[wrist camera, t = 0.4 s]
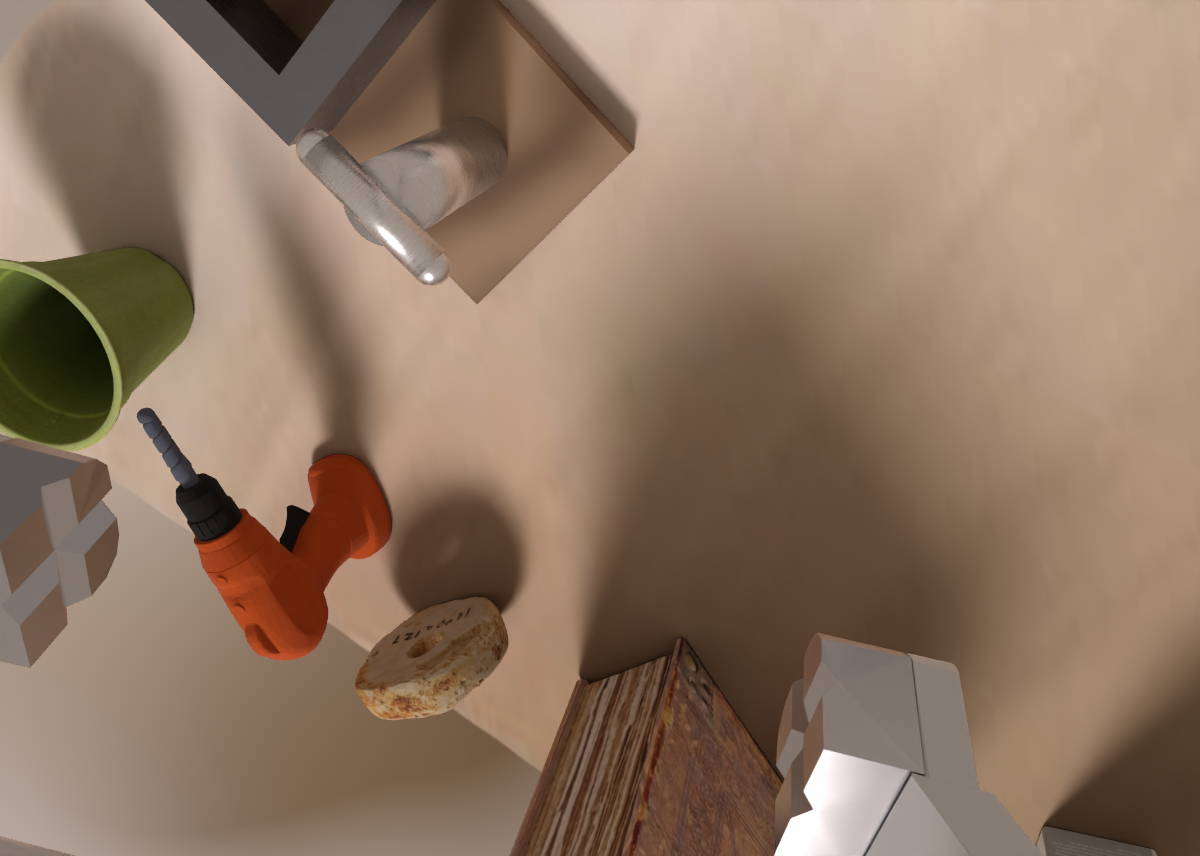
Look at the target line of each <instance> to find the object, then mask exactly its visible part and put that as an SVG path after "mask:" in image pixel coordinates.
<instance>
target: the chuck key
mask: <svg viewBox="0 0 1200 856" xmlns="http://www.w3.org/2000/svg"><path fill="white" fill-rule="evenodd" d="M296 153H297V156H298V158H299V160H300V161H301V162H302V164H303V165H304V166H305V167H306V168H307V169H308V170H309V171H310V172H311V173H312V174H313V175H314V176H315V177H316V178H317V179H318V180H319V181H320V182H321V183H322V184H323V185H324V186H325V187H326V188H327V189H328V190H329V191H330V192H331V193H332V194H333V195H334V196H335V197H336V198H337V199H338V200H339V201H340V202H341V203H342V204H343V205H344V209H345V212H346V215H347V217H348V219H349V221H350V223H351V224H352V226H353V227H354V228H355V229H356V231H357V232H358V233H359V234H360V235H361V236H363V237H364V238H365V239H367V240H368V241H370V242H372V243H375V244H377V245H380V246H384V247H385V248H386V249H387V250H388V251H389V252H390V253H391V254H392V255H393V256H394V257H395V258H396V259H397V260H398V261H399V262H400V263H401V264H402V265H403V266H404V267H405V268H406V269H407V270H408V271H409V272H410V273H411V274H412V275H413V276H414V277H415V278H416V279H417V280H418V281H419V282H421V283H423V284H425V285H429V286H436V285H439V284H441V283H443V282H444V281H445V280H446V279H447V278H448V277H449V275H450V272H451V260H450V258H449V256H448V254H447V253H446V252H445V251H444V250H443V249H442V248H441V247H440V246H439V245H438V244H437V243H436V241H435V240H434V239H433V238H432V237H431V236H430V235H429V234H428V233H427V232H426V231H425V230H427V229H428V228H430V227H431V226H433V225H434V224H436V223H437V222H439V221H440V220H442V219H443V218H445V217H446V216H448V215H449V214H451V213H452V212H454V211H455V210H457V209H458V208H460V207H461V206H463V205H464V204H466V203H468V202H469V201H471V200H472V199H474V198H475V197H477V196H478V195H480V194H481V193H483V192H484V191H486V190H487V189H489V188H490V187H492V186H493V185H495V184H496V183H497V182H498V181H499V180H500V179H501V178H502V176H503V175H504V173H505V170H506V167H507V163H508V151H507V146H506V143H505V141H504V139H503V137H502V135H501V134H500V132H499V131H498V130H497V129H496V128H495V127H494V126H493V125H492V124H491V123H489V122H487V121H486V120H483V119H481V118H477V117H465V118H461V119H458V120H456V121H454V122H452V123H449V124H447V125H445V126H443V127H440V128H438V129H436V130H434V131H431V132H429V133H427V134H425V135H422V136H420V137H418V138H415V139H413V140H411V141H409V142H406V143H404V144H402V145H400V146H397V147H395V148H393V149H391V150H388V151H386V152H384V153H382V154H379V155H377V156H375V157H373V158H370V159H368V160H366V161H364V162H362V163H359V162H358V161H357V160H356V159H355V158H354V157H353V156H352V155H351V154H350V153H349V152H348V151H347V150H346V149H345V148H344V147H343V146H342V145H341V144H340V143H339V142H338V141H337V140H336V139H335V138H334V137H333V136H332V135H331V134H330V133H329V132H327V131H326V130H323V129H320V128H311V129H308V130H306V131H304V132H303V133H302V134H301V135H300V136H299V138H298V140H297V143H296Z"/></svg>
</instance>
